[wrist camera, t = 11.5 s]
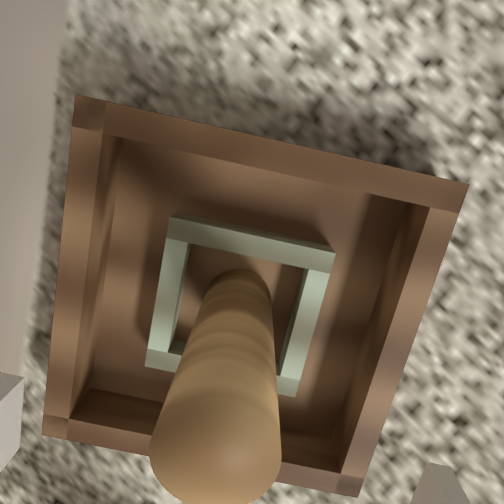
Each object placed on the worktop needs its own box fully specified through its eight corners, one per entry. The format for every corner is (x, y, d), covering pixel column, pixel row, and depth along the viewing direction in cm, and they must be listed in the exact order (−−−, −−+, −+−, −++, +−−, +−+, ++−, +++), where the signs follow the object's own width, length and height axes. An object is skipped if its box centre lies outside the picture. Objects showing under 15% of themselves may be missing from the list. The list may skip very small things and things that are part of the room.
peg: (212, 262, 26) (160, 385, 13) (278, 276, 26) (296, 414, 13) (199, 323, 27) (140, 496, 14) (262, 336, 28) (264, 520, 14)
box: (104, 102, 24) (75, 94, 21) (437, 178, 25) (469, 184, 21) (69, 397, 30) (41, 434, 26) (345, 453, 31) (357, 497, 27)
